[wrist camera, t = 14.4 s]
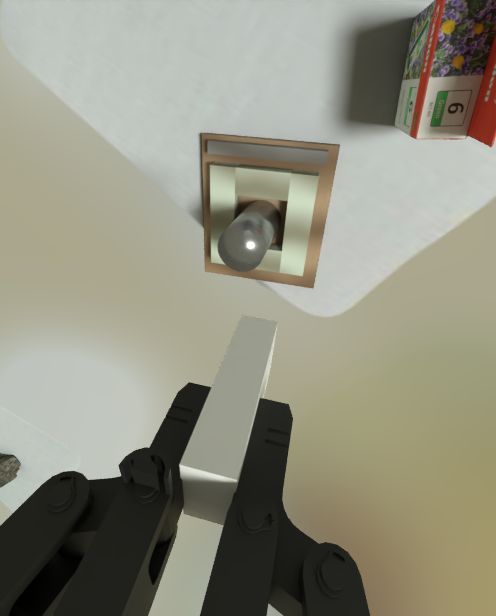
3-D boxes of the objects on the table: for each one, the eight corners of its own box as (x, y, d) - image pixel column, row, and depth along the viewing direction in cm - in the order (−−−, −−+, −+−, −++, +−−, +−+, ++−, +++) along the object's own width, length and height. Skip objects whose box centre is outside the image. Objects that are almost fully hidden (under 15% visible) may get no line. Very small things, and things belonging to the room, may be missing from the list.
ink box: (392, 126, 32) (424, 152, 20) (412, 15, 27) (469, -38, 15) (435, 126, 31) (495, 152, 19) (462, 11, 26) (563, -48, 15)
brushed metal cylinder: (242, 199, 37) (215, 225, 30) (281, 200, 36) (263, 227, 29) (243, 237, 40) (219, 269, 32) (280, 239, 39) (263, 273, 31)
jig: (204, 132, 35) (194, 136, 33) (339, 144, 33) (339, 149, 31) (207, 268, 44) (199, 278, 42) (313, 284, 42) (312, 296, 40)
